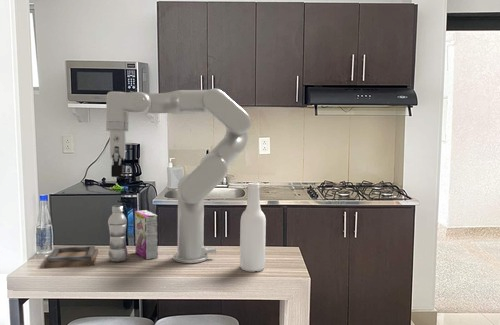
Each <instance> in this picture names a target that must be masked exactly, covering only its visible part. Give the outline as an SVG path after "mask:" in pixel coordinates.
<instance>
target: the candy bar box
mask: <svg viewBox="0 0 500 325" xmlns="http://www.w3.org/2000/svg"><path fill="white" fill-rule="evenodd" d="M134 226H135V227H134V231H135V232H134V233H135V234H134V235H135V238H134V239H135V245H134V246H135V253H136V254H137V255H139V256H140V257H142V258H143V259H145V260H147V261H149V260H153V259H158V257H159V256H158V249H159V248H158V247H159V246H158V215H157V214H156V213H154V212H151V211H149V210H146V209H143V210H135V211H134Z"/></svg>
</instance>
